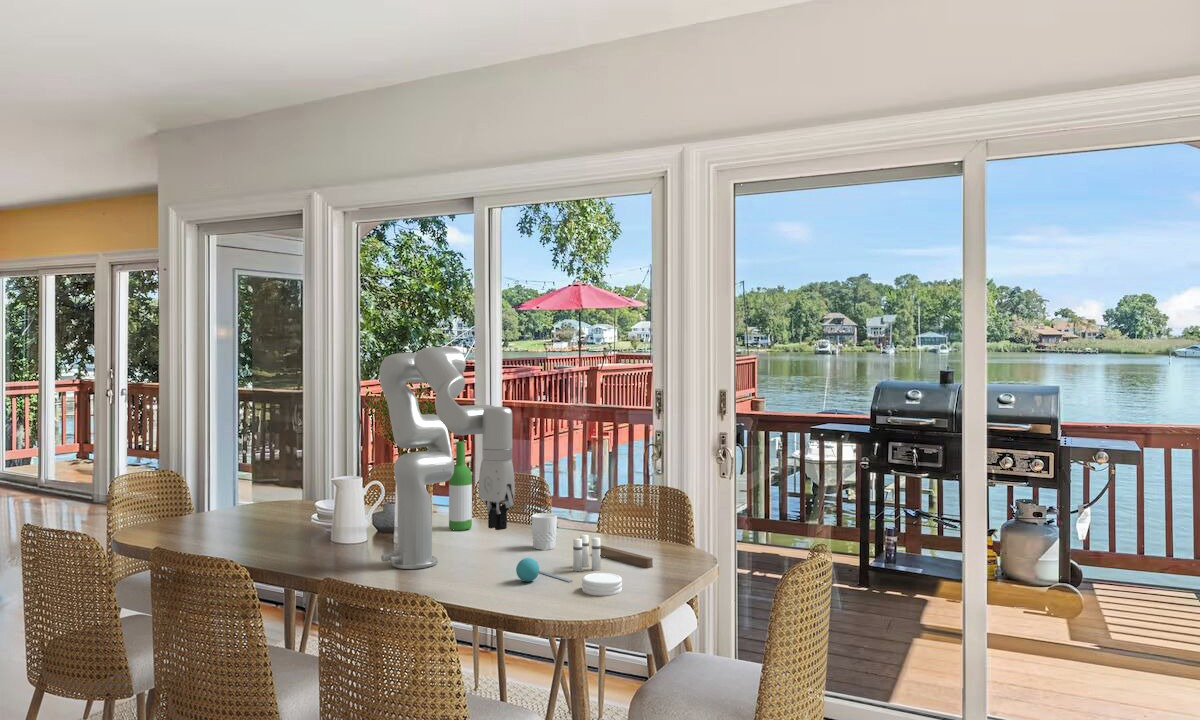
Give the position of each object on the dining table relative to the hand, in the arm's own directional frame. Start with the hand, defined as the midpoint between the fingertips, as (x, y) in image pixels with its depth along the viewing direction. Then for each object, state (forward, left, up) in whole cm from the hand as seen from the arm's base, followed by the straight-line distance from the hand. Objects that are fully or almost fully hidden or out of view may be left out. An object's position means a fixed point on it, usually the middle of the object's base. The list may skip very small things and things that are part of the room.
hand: (497, 527), depth 205 cm
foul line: (+18, 0, -15) cm, 23 cm away
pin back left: (+31, +3, -15) cm, 35 cm away
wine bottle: (+33, +70, -15) cm, 79 cm away
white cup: (+37, +28, -15) cm, 48 cm away
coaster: (+19, -19, -16) cm, 31 cm away
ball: (+10, 0, -12) cm, 15 cm away
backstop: (+44, 0, -15) cm, 46 cm away
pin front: (+27, 0, -15) cm, 31 cm away
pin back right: (+31, -2, -15) cm, 35 cm away
